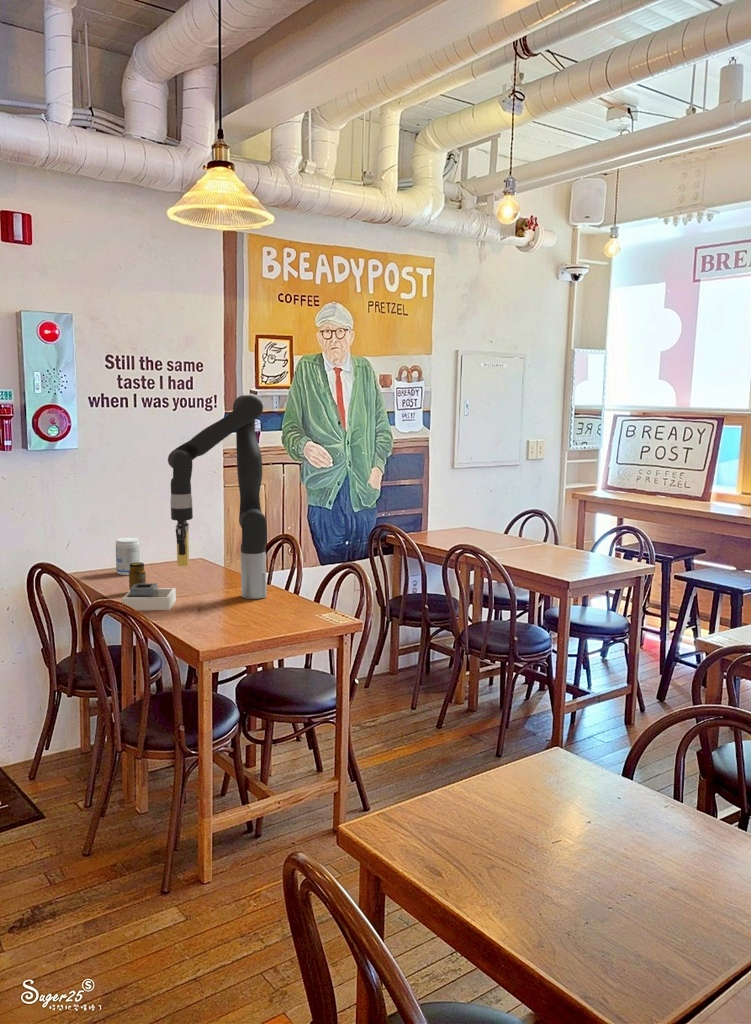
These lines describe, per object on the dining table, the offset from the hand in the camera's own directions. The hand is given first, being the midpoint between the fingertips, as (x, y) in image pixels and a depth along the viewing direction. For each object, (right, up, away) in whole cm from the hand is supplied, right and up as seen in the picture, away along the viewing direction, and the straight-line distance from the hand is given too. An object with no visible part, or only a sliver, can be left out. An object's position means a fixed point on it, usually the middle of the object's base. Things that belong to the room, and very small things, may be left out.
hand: (183, 553), depth 292 cm
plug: (0, -4, +1) cm, 4 cm away
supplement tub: (-36, -11, +53) cm, 65 cm away
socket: (-14, -19, 0) cm, 23 cm away
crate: (-12, -19, 0) cm, 23 cm away
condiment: (-21, -17, +17) cm, 32 cm away
